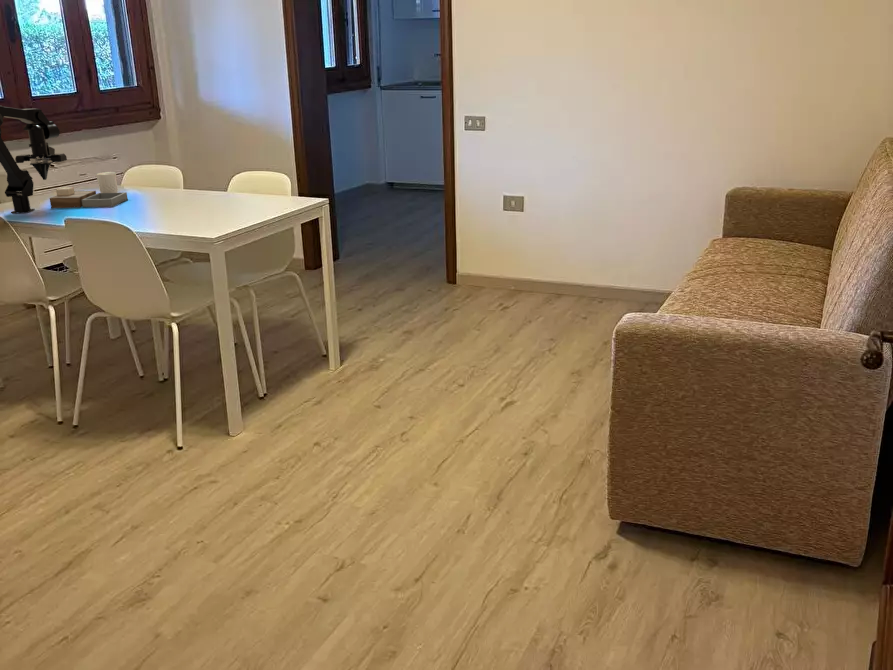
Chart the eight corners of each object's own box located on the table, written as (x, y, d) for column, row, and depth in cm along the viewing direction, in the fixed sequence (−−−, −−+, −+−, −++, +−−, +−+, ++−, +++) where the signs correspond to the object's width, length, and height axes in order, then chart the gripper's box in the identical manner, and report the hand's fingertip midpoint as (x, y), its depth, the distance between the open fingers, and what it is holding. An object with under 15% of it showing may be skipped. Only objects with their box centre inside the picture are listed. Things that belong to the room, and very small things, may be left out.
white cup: (119, 197, 354) (115, 173, 351) (100, 199, 351) (96, 175, 348) (119, 194, 361) (115, 171, 358) (100, 196, 358) (96, 172, 355)
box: (112, 206, 333) (111, 199, 332) (82, 207, 334) (81, 199, 333) (127, 199, 348) (126, 192, 347) (99, 200, 349) (98, 192, 348)
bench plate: (80, 207, 334) (78, 197, 332) (51, 207, 334) (49, 198, 333) (97, 200, 349) (95, 190, 347) (69, 200, 349) (67, 191, 348)
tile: (69, 195, 338) (68, 189, 337) (57, 195, 338) (55, 189, 337) (74, 193, 343) (73, 187, 342) (62, 193, 343) (61, 187, 342)
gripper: (69, 138, 340) (76, 176, 346) (25, 139, 341) (32, 177, 346) (56, 141, 330) (63, 180, 335) (11, 142, 331) (18, 181, 336)
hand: (45, 179), depth 338 cm, fingers closed
